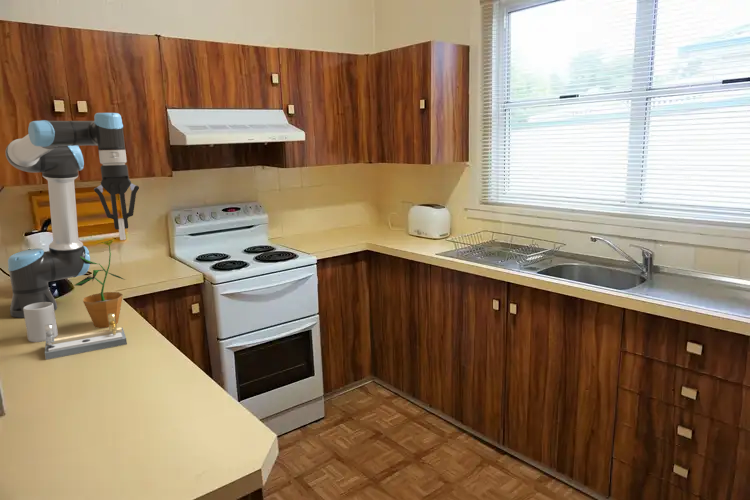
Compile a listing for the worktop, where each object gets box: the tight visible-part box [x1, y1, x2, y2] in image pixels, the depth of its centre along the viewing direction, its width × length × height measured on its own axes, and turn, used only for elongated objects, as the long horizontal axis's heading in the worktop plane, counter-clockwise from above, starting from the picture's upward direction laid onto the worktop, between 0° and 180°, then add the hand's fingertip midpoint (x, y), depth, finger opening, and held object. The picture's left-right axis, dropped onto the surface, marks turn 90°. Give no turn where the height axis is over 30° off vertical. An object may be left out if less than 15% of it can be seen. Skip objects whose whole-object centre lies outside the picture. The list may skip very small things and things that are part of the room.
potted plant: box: [74, 237, 126, 329], centre depth 186 cm, size 18×19×30 cm
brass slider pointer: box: [108, 313, 118, 335], centre depth 172 cm, size 8×2×5 cm, turn 30°
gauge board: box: [44, 327, 128, 360], centre depth 169 cm, size 12×22×3 cm, turn 120°
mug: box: [23, 302, 59, 343], centre depth 178 cm, size 12×8×11 cm
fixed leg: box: [45, 324, 56, 347], centre depth 164 cm, size 8×2×5 cm, turn 30°
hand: (122, 239), depth 171 cm, fingers closed
